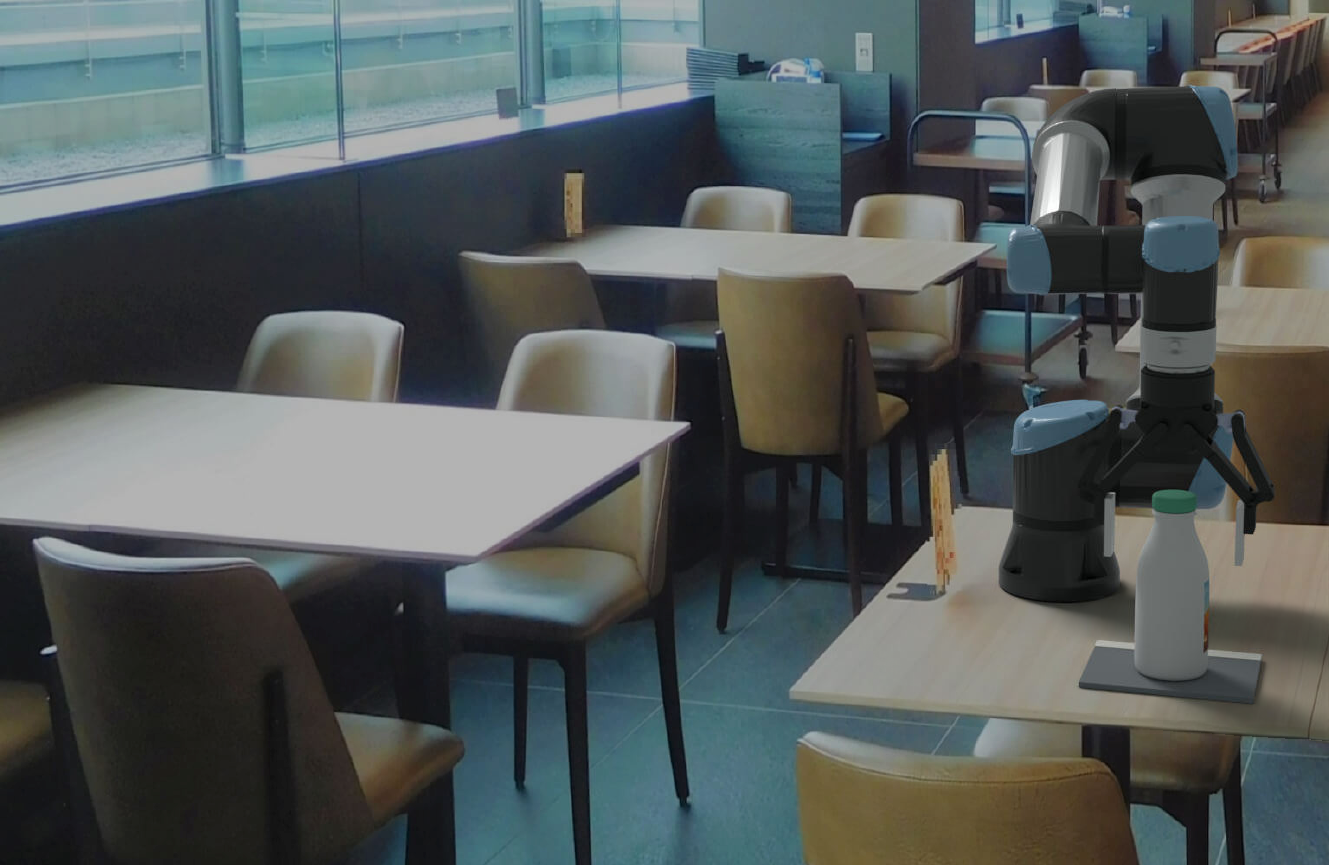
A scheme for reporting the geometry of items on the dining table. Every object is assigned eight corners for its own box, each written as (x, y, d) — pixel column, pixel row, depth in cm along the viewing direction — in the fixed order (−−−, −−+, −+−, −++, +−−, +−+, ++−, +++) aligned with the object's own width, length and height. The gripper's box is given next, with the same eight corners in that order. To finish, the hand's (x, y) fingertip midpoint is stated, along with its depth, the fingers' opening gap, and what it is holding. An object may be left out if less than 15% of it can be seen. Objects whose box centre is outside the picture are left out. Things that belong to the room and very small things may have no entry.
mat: (1078, 687, 193) (1078, 680, 193) (1097, 645, 205) (1097, 639, 205) (1253, 703, 186) (1253, 697, 186) (1261, 660, 198) (1261, 654, 198)
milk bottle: (1196, 687, 190) (1200, 506, 185) (1124, 676, 194) (1127, 498, 189) (1215, 664, 196) (1220, 488, 192) (1146, 654, 200) (1149, 482, 196)
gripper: (1052, 368, 188) (1050, 559, 194) (1301, 377, 179) (1293, 577, 184) (1063, 354, 195) (1062, 539, 200) (1305, 361, 186) (1297, 555, 191)
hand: (1173, 557), depth 192 cm, fingers open, 13 cm apart
